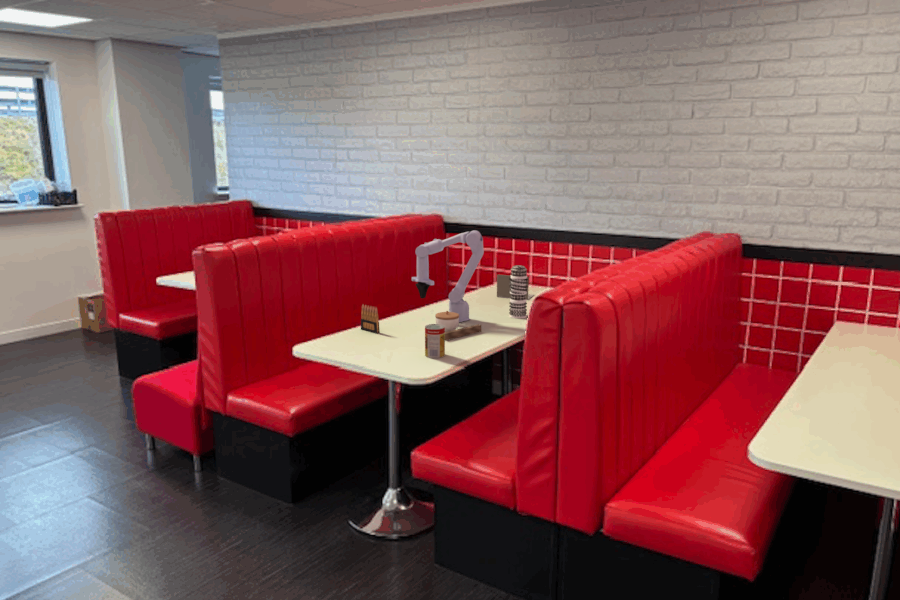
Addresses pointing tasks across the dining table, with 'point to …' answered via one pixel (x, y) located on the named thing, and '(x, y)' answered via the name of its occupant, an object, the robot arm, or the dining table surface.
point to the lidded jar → (448, 320)
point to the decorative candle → (518, 291)
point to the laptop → (507, 287)
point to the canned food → (434, 341)
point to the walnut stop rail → (462, 332)
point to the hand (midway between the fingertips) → (422, 297)
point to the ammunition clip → (370, 319)
